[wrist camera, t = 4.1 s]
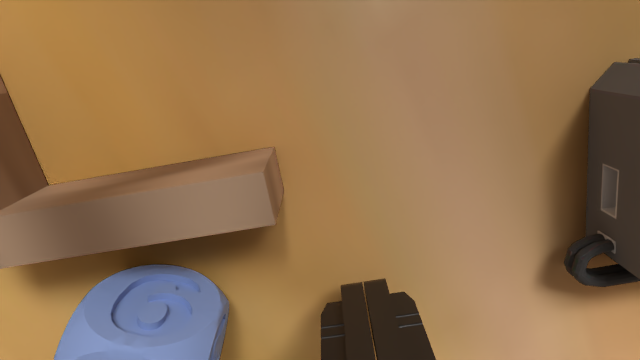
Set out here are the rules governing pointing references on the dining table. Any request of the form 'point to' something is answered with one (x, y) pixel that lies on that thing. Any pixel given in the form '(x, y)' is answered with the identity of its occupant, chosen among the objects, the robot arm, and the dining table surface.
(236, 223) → the trap channel
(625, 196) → the walkie-talkie
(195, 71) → the dining table surface
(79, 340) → the decorative dice
